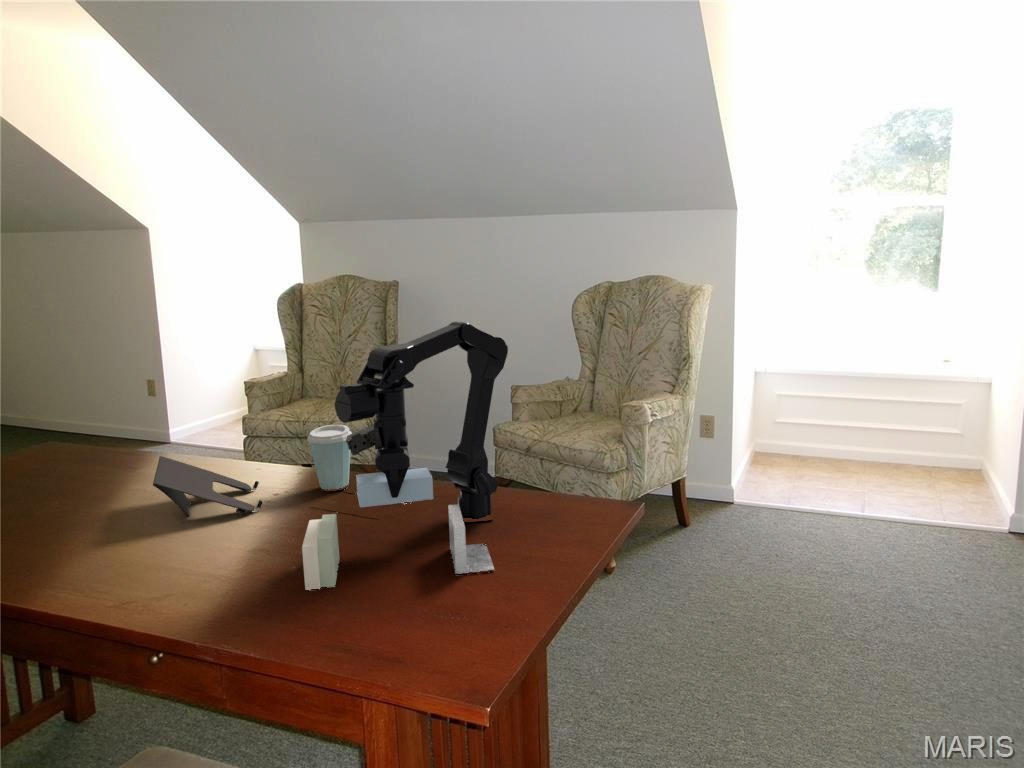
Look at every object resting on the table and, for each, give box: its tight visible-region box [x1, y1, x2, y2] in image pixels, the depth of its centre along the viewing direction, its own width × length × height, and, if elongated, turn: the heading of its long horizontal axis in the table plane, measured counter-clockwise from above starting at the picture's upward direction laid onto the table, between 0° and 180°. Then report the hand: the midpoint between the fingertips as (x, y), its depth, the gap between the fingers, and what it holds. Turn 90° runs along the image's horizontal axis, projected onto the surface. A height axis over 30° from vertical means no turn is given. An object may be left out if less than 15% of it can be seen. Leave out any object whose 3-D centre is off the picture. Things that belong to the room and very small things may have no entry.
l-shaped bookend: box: [447, 503, 495, 574], centre depth 140 cm, size 7×12×9 cm, turn 9°
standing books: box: [301, 513, 340, 591], centre depth 135 cm, size 5×13×9 cm, turn 9°
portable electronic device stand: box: [152, 455, 264, 518], centre depth 172 cm, size 23×23×9 cm
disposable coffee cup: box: [307, 424, 353, 490], centre depth 183 cm, size 11×11×15 cm
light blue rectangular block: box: [355, 467, 434, 508], centre depth 146 cm, size 14×6×4 cm, turn 105°
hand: (394, 491), depth 147 cm, fingers closed on light blue rectangular block, 7 cm apart
